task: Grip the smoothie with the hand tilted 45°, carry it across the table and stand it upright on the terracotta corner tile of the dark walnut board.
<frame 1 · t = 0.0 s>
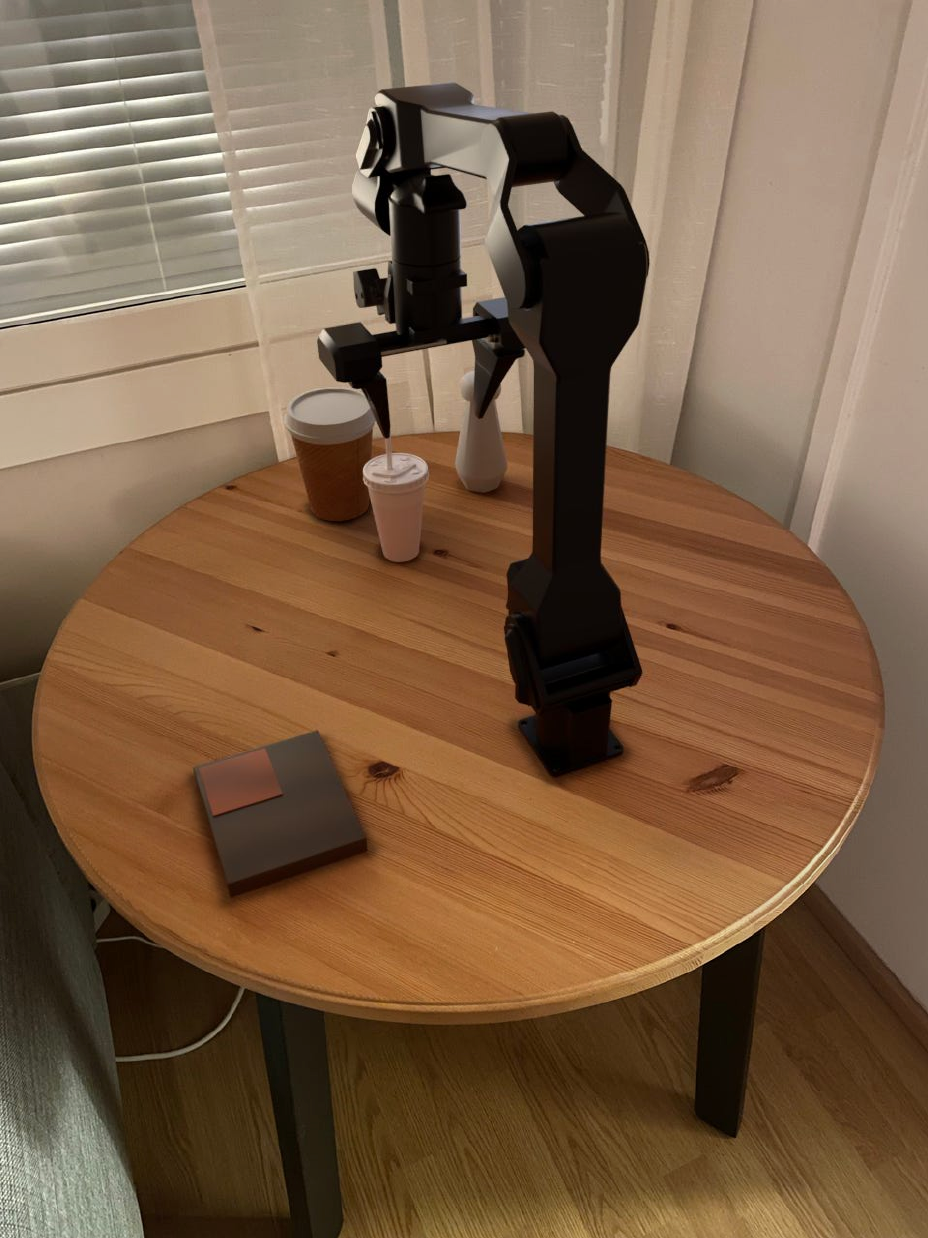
hand: (432, 426, 92), 15 cm above the table, tool pointing down, fingers open, 9 cm apart
board: (278, 814, 75), on the table
smoothie: (401, 553, 103), on the table
salt shaker: (481, 484, 113), on the table
disposable coffee cup: (340, 507, 110), on the table
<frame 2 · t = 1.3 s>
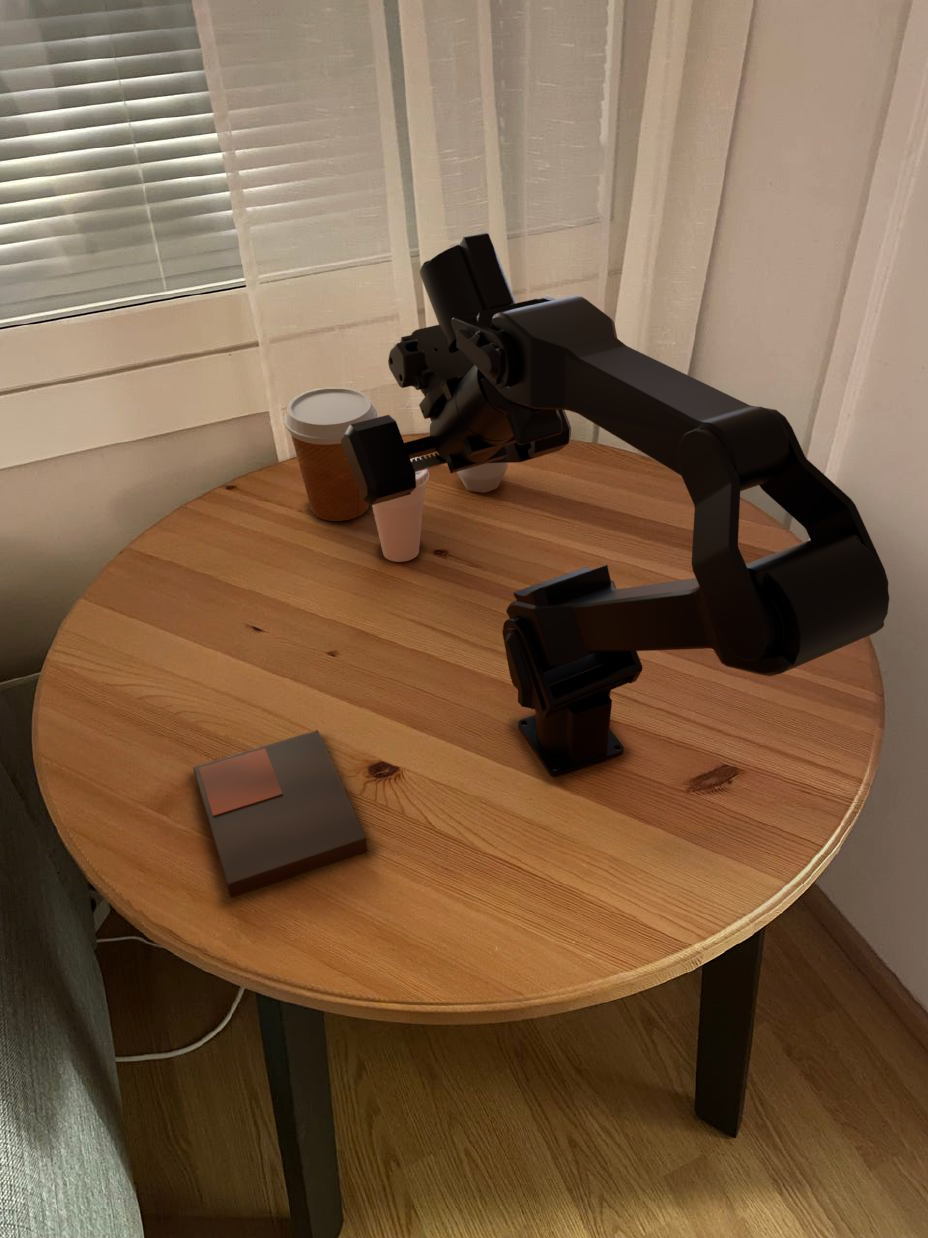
hand: (429, 470, 89), 13 cm above the table, tool tilted 45°, fingers open, 9 cm apart
nothing on the table moved.
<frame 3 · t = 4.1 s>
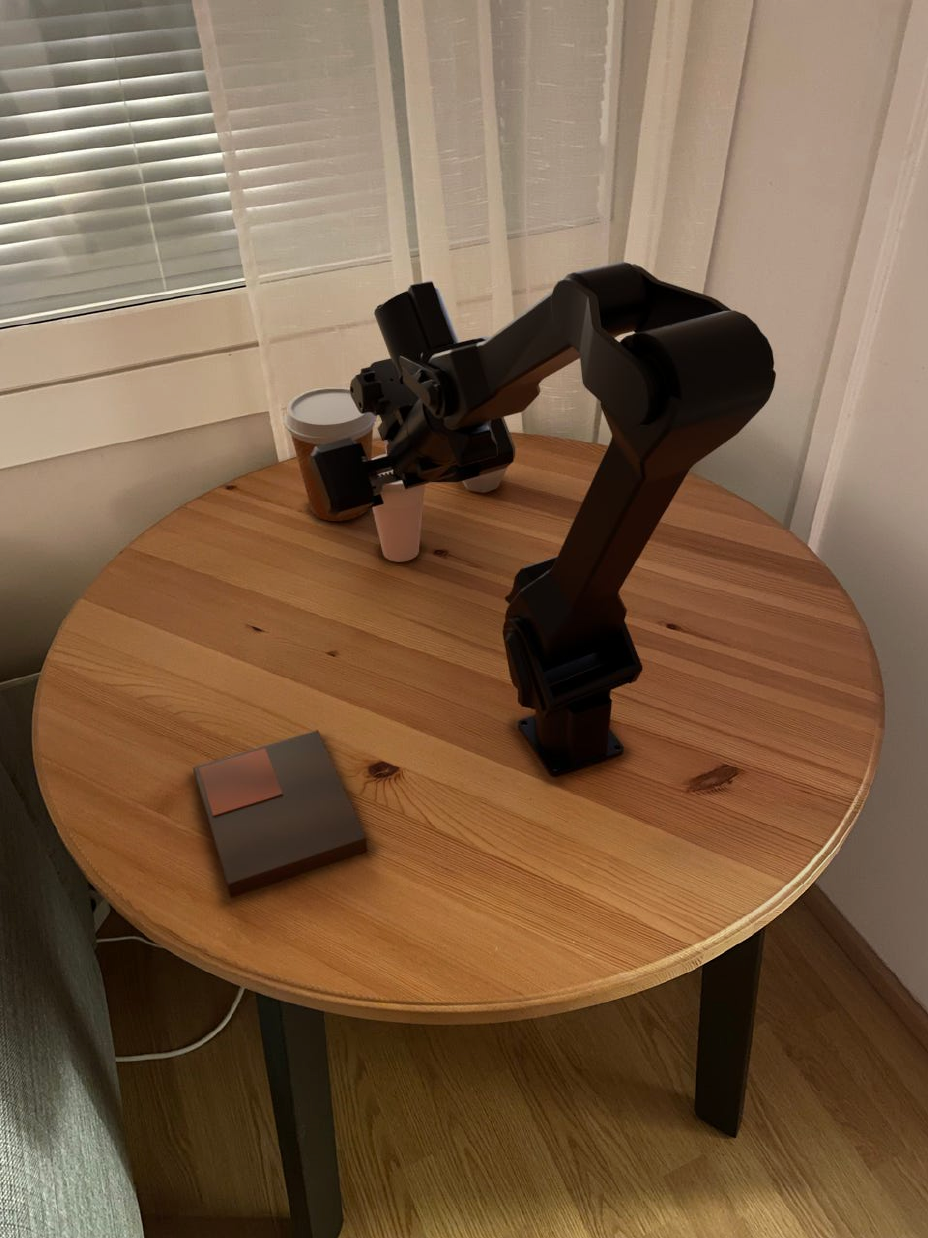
hand: (391, 484, 99), 7 cm above the table, tool tilted 45°, fingers closed on smoothie, 6 cm apart
smoothie: (400, 553, 103), on the table, touching gripper
everything else where it was.
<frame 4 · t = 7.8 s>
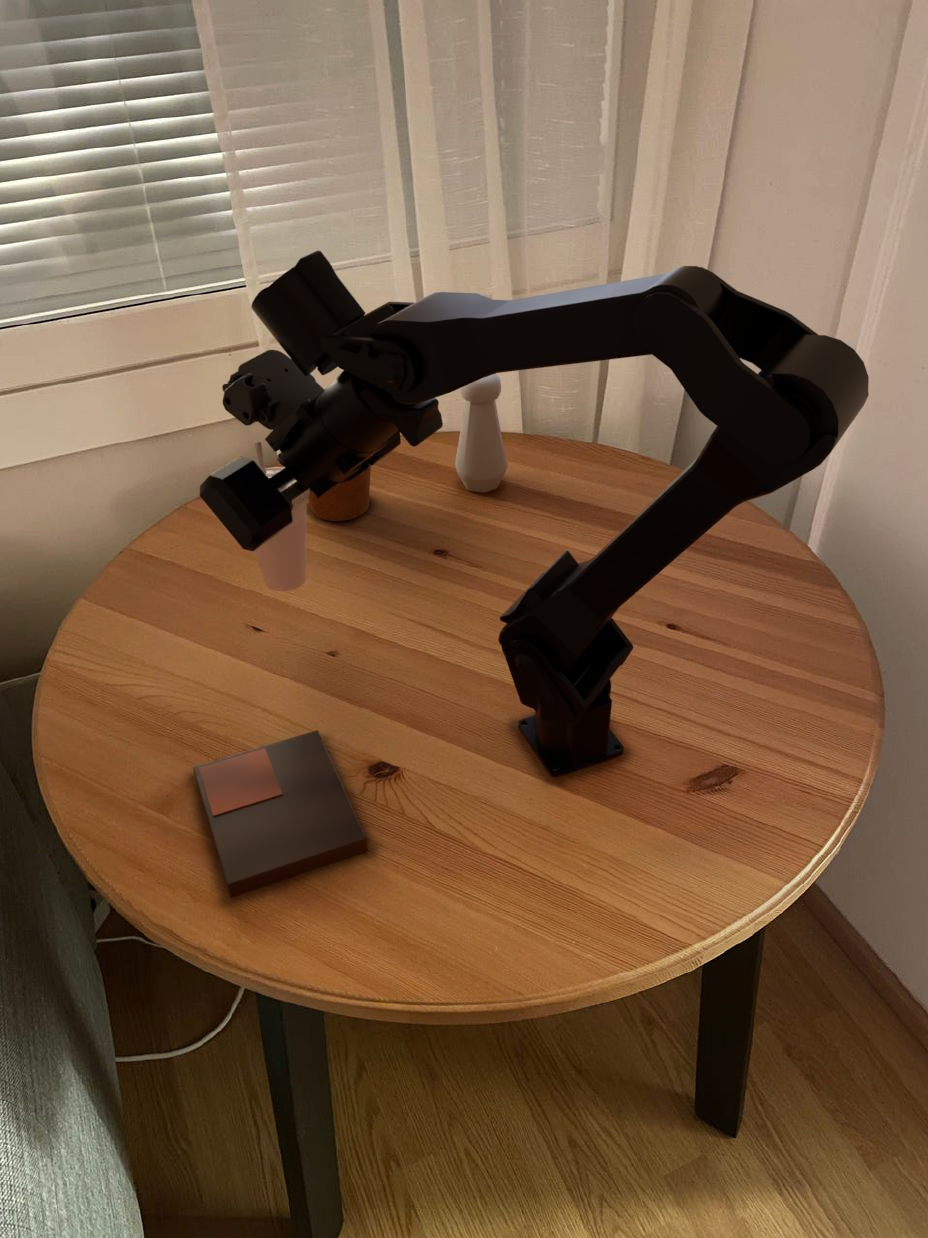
hand: (262, 507, 86), 12 cm above the table, tool tilted 45°, fingers closed on smoothie, 6 cm apart
smoothie: (286, 580, 90), point 5 cm above the table, touching gripper
everything else where it was.
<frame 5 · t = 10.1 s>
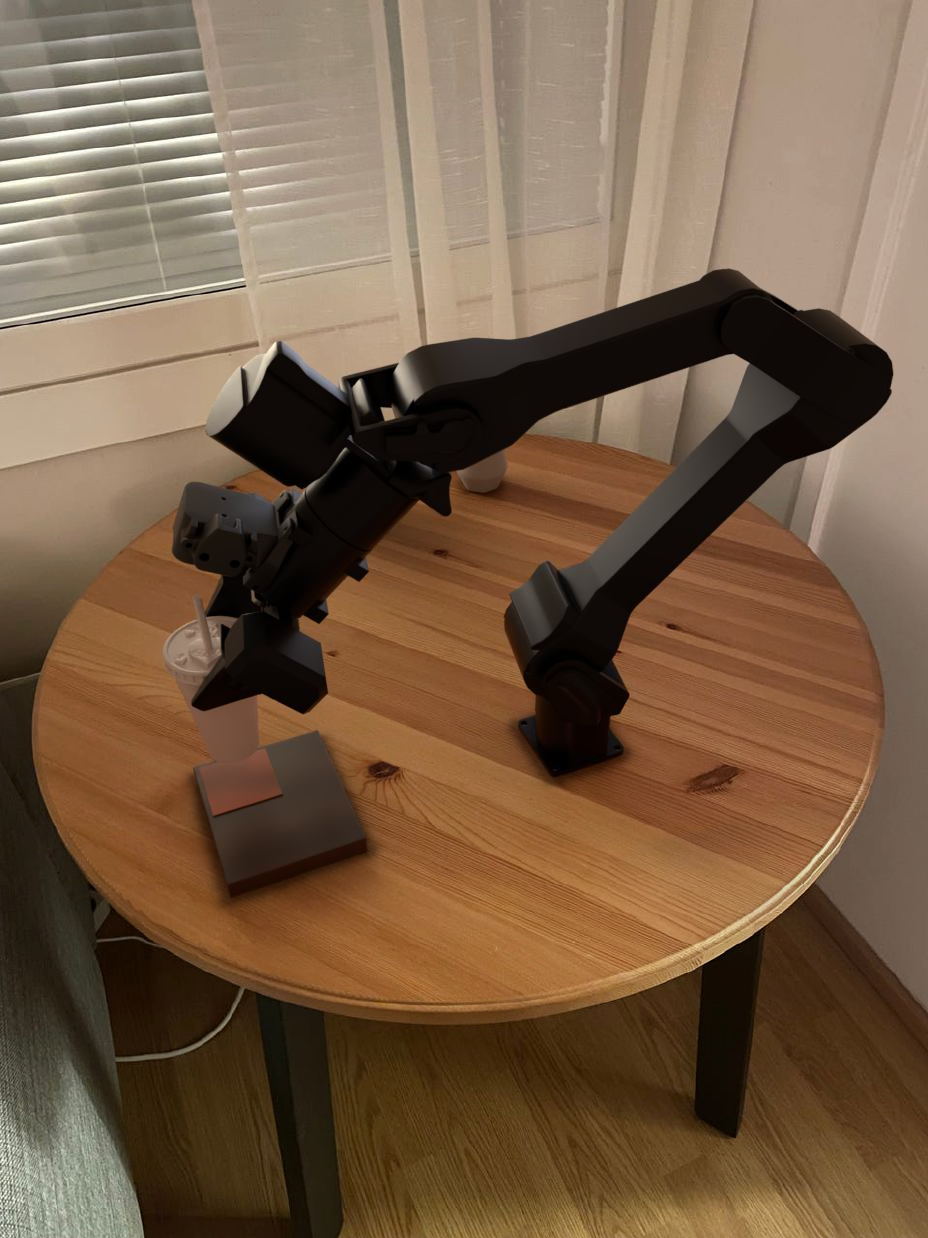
hand: (197, 675, 69), 12 cm above the table, tool tilted 45°, fingers closed on smoothie, 6 cm apart
smoothie: (234, 747, 74), point 5 cm above the table, touching gripper
everything else where it was.
when the fingers open (9 cm above the table, at t = 11.9 s): smoothie stays where it is, resting on board.
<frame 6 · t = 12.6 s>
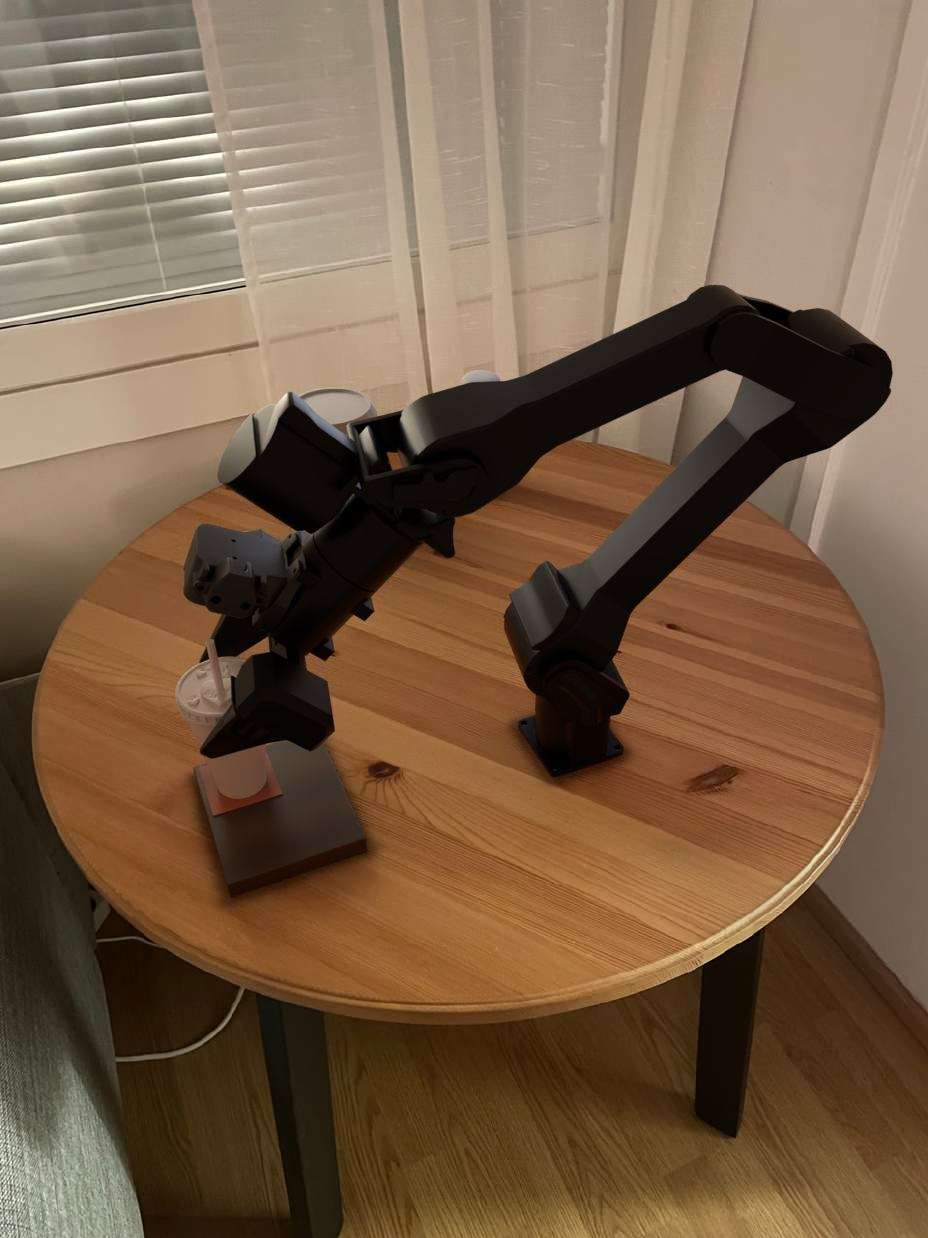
hand: (204, 708, 71), 9 cm above the table, tool tilted 45°, fingers open, 9 cm apart
smoothie: (242, 782, 76), point 1 cm above the table, touching board
everything else where it was.
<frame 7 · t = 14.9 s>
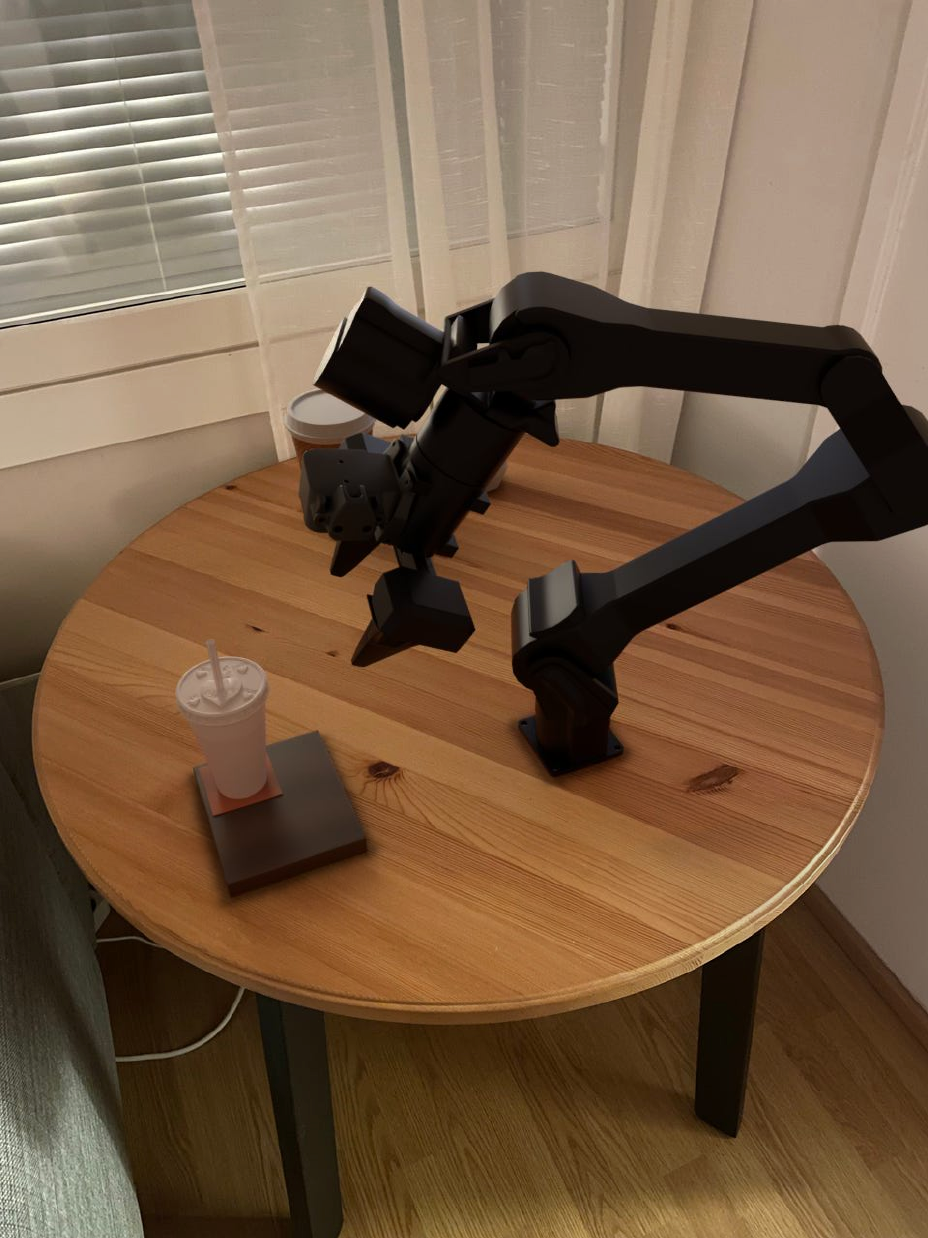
hand: (345, 618, 74), 13 cm above the table, tool tilted 30°, fingers open, 9 cm apart
nothing on the table moved.
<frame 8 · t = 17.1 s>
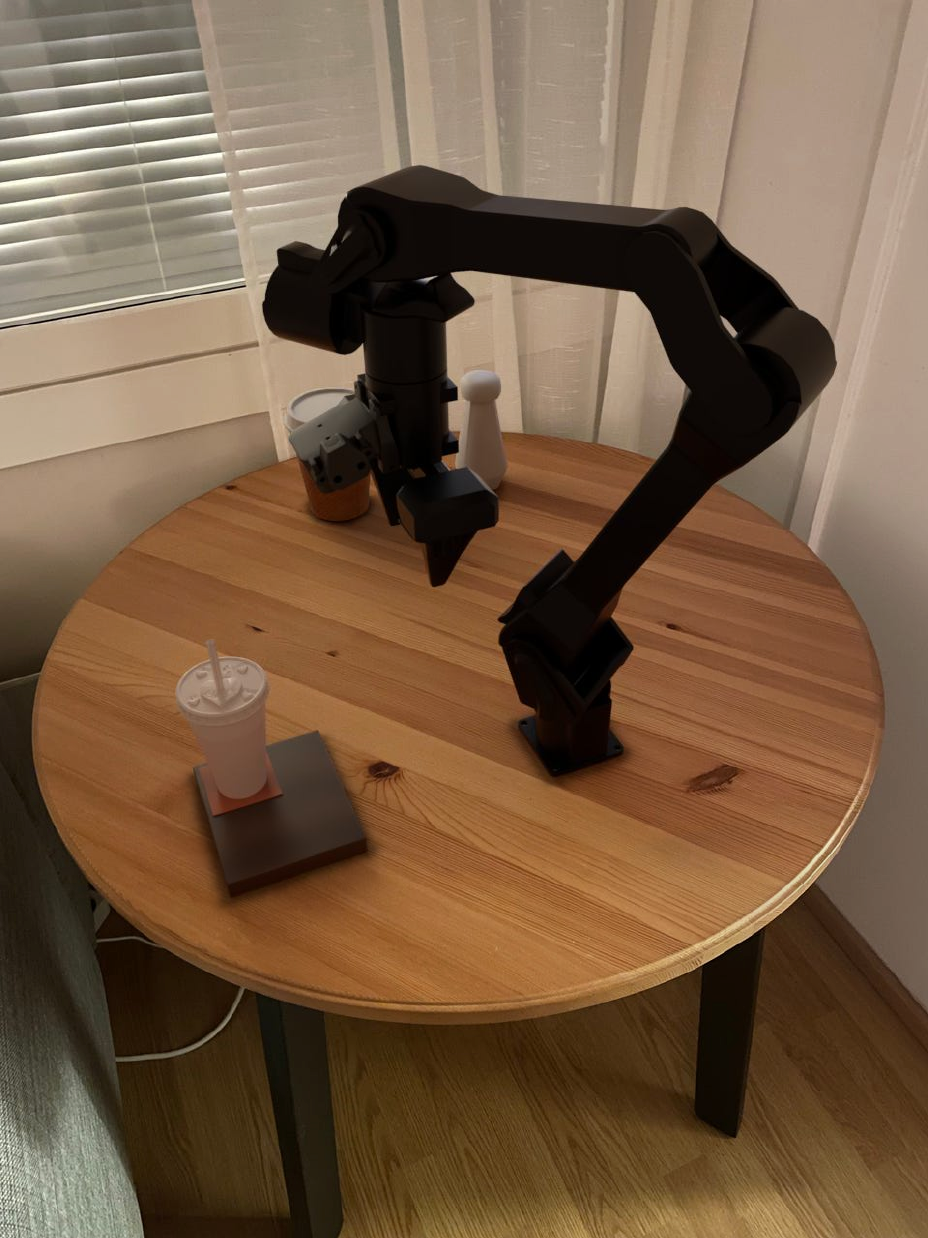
hand: (415, 553, 79), 13 cm above the table, tool pointing down, fingers open, 9 cm apart
nothing on the table moved.
at the end: smoothie 0.2 cm from the target spot on the board, point 1.4 cm above the board's base; smoothie tilted 0°; the gripper is holding nothing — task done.
